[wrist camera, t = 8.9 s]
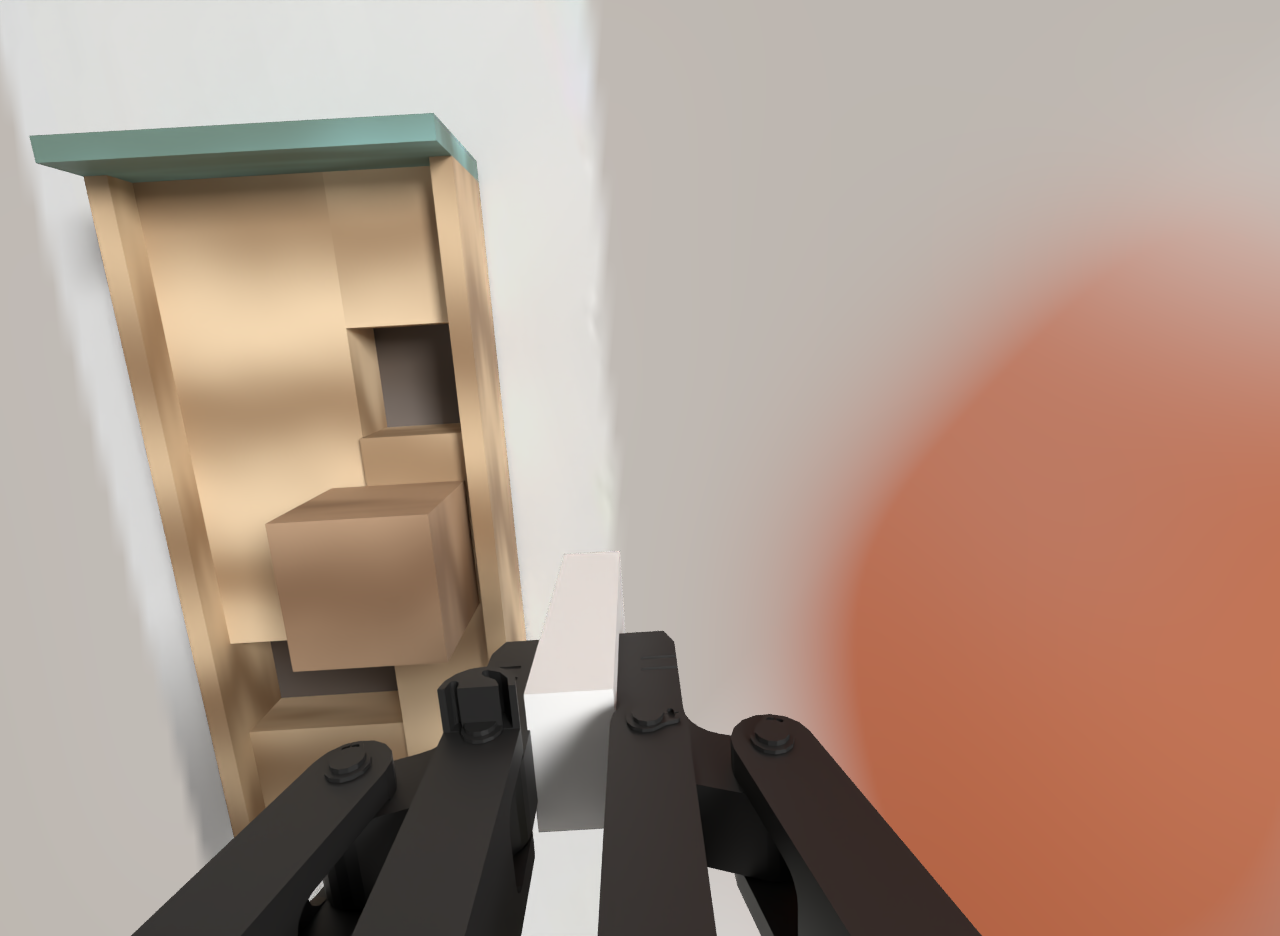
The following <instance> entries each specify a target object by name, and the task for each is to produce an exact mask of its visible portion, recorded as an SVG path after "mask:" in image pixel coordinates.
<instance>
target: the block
mask: <svg viewBox="0 0 1280 936" xmlns="http://www.w3.org/2000/svg"><path fill="white" fill-rule="evenodd" d="M265 527H266V532H267V538H268V543H269V548H270V553H271V558H272V564H273V569H274V574H275V579H276V585H277V590H278V595H279V600H280V606H281V611H282V616H283V621H284V627H285V632H286V637H287V642H288V648H289V653H290V658H291V663H292V669H293V672H299V671H315V670H332V669H348V668H364V667H381V666H397V665H414V664H430V663H447V662H448V661H449V659H450V657H451V655H452V654H453V652H454V650H455V648H456V646H457V644H458V642H459V641H460V639H461V637H462V635H463V633H464V631H465V630H466V628H467V626H468V624H469V622H470V620H471V618H472V617H473V615H474V613H475V611H476V609H477V607H478V605H479V596H478V588H477V579H476V571H475V563H474V554H473V546H472V537H471V529H470V520H469V512H468V503H467V495H466V487H465V480H463V481H446V482H429V483H412V484H395V485H378V486H361V487H344V488H331V489H329V490H328V491H326V492H324V493H322V494H320V495H318V496H316V497H314V498H313V499H311V500H309V501H307V502H305V503H303V504H301V505H299V506H298V507H296V508H294V509H292V510H290V511H288V512H286V513H285V514H283V515H281V516H279V517H277V518H275V519H273V520H271V521H270V522H268V523H266V524H265Z"/></svg>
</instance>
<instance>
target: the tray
mask: <svg viewBox="0 0 1280 936" xmlns="http://www.w3.org/2000/svg"><path fill="white" fill-rule="evenodd" d="M30 140H31V145H32V149H33V153H34V157H35V161H36V163H38V164H41V165H45V166H48V167H52V168H55V169H59V170H62V171H66V172H69V173H73V174H77V175H80V176H84V181H85V185H86V190H87V194H88V198H89V203H90V207H91V212H92V216H93V220H94V225H95V229H96V233H97V238H98V242H99V247H100V251H101V255H102V260H103V264H104V269H105V273H106V277H107V282H108V286H109V291H110V295H111V299H112V304H113V308H114V312H115V317H116V321H117V326H118V330H119V334H120V339H121V343H122V348H123V352H124V356H125V361H126V365H127V370H128V374H129V378H130V383H131V387H132V391H133V396H134V400H135V405H136V409H137V413H138V418H139V422H140V427H141V431H142V435H143V440H144V444H145V449H146V453H147V457H148V462H149V466H150V470H151V475H152V479H153V484H154V488H155V492H156V497H157V501H158V506H159V510H160V514H161V519H162V523H163V528H164V532H165V536H166V541H167V545H168V549H169V554H170V558H171V563H172V567H173V571H174V576H175V580H176V585H177V589H178V593H179V598H180V602H181V607H182V611H183V615H184V620H185V624H186V628H187V633H188V637H189V642H190V646H191V650H192V655H193V659H194V664H195V668H196V672H197V677H198V681H199V686H200V690H201V694H202V699H203V703H204V707H205V712H206V716H207V721H208V725H209V729H210V734H211V738H212V743H213V747H214V751H215V756H216V760H217V765H218V769H219V773H220V778H221V782H222V786H223V791H224V795H225V800H226V804H227V808H228V813H229V817H230V822H231V826H232V830H233V835H234V838H235V837H236V836H237V835H238V834H239V833H240V832H241V831H242V830H243V829H244V828H245V827H246V826H247V825H248V824H249V823H250V822H251V821H253V820H254V819H255V818H256V817H257V816H258V815H259V814H260V813H261V812H262V811H263V810H264V809H265V808H266V807H267V806H268V805H269V804H270V803H271V802H273V801H274V800H275V799H276V798H277V797H278V796H279V795H280V794H281V793H282V792H283V791H284V790H285V789H286V788H287V787H288V786H289V785H290V784H291V783H293V782H294V781H295V780H296V779H297V778H298V777H299V776H300V775H301V774H302V773H303V772H304V771H305V770H306V769H307V768H308V767H309V766H310V765H312V764H313V763H314V762H315V761H316V760H318V759H319V758H320V757H322V756H323V755H324V754H326V753H327V752H329V751H331V750H334V749H336V748H338V747H340V746H342V745H345V744H348V743H352V742H357V741H370V740H375V741H378V742H382V743H385V744H386V745H387V746H388V747H389V748H390V749H391V750H392V754H393V760H398V759H401V758H405V757H409V756H412V755H416V754H420V753H423V752H425V751H428V750H431V749H433V748H435V747H437V745H438V743H439V741H440V739H441V737H442V734H443V728H442V721H441V714H440V707H439V700H438V693H437V689H438V688H439V687H440V686H441V684H442V683H443V682H444V681H445V680H447V679H449V678H450V677H452V676H453V675H455V674H457V673H460V672H463V671H465V670H468V669H472V668H479V667H487V665H488V663H489V660H490V658H491V656H492V654H493V653H494V652H495V651H496V650H498V649H499V648H500V647H501V646H502V645H503V644H504V643H506V642H513V641H526V633H525V623H524V614H523V604H522V595H521V585H520V575H519V566H518V556H517V547H516V537H515V527H514V518H513V508H512V499H511V489H510V479H509V470H508V460H507V451H506V441H505V431H504V422H503V412H502V403H501V393H500V383H499V374H498V364H497V355H496V345H495V335H494V326H493V316H492V307H491V297H490V287H489V278H488V268H487V259H486V249H485V239H484V230H483V220H482V211H481V201H480V191H479V182H478V172H477V163H476V160H475V159H474V158H473V157H472V156H471V154H470V153H469V152H468V151H467V150H466V149H465V148H464V147H463V146H462V144H461V143H460V142H459V141H458V140H457V139H456V138H455V137H454V136H453V134H452V133H451V132H450V131H449V130H448V129H447V128H446V127H445V125H444V124H443V123H442V122H441V121H440V120H439V119H438V118H437V117H436V115H435V114H434V113H426V114H408V115H390V116H373V117H355V118H337V119H319V120H302V121H284V122H266V123H248V124H231V125H213V126H195V127H177V128H160V129H142V130H124V131H107V132H89V133H71V134H53V135H36V136H30ZM463 480H465V487H466V495H467V503H468V512H469V520H470V529H471V537H472V546H473V554H474V563H475V571H476V579H477V588H478V596H479V605H478V607H477V609H476V611H475V613H474V615H473V617H472V618H471V620H470V622H469V624H468V626H467V628H466V630H465V631H464V633H463V635H462V637H461V639H460V641H459V642H458V644H457V646H456V648H455V650H454V652H453V654H452V655H451V657H450V659H449V661H448V662H447V663H430V664H414V665H397V666H381V667H364V668H348V669H332V670H315V671H299V672H293V669H292V663H291V658H290V653H289V648H288V642H287V637H286V632H285V627H284V621H283V616H282V611H281V606H280V600H279V595H278V590H277V585H276V579H275V574H274V569H273V564H272V558H271V553H270V548H269V543H268V538H267V532H266V527H265V524H266V523H268V522H270V521H271V520H273V519H275V518H277V517H279V516H281V515H283V514H285V513H286V512H288V511H290V510H292V509H294V508H296V507H298V506H299V505H301V504H303V503H305V502H307V501H309V500H311V499H313V498H314V497H316V496H318V495H320V494H322V493H324V492H326V491H328V490H329V489H331V488H344V487H361V486H378V485H395V484H412V483H429V482H446V481H463Z"/></svg>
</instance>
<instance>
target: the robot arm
mask: <svg viewBox="0 0 1280 936" xmlns="http://www.w3.org/2000/svg"><path fill="white" fill-rule="evenodd" d="M437 693H438V700H439V707H440V714H441V721H442V728H443V734H442V737H441V739H440V741H439V743H438V745H437V747H435V748H433V749H431V750H428V751H425V752H423V753H420V754H416V755H412V756H409V757H405V758H401V759H398V760H393V754H392V750H391V749H390V748H389V747H388V746H387V745H386V744H385V743H382V742H378V741H375V740H370V741H357V742H352V743H348V744H345V745H342V746H340V747H338V748H336V749H334V750H331V751H329V752H327V753H326V754H324V755H323V756H322V757H320V758H319V759H318V760H316V761H315V762H314V763H313V764H312V765H310V766H309V767H308V768H307V769H306V770H305V771H304V772H303V773H302V774H301V775H300V776H299V777H298V778H297V779H296V780H295V781H294V782H293V783H291V784H290V785H289V786H288V787H287V788H286V789H285V790H284V791H283V792H282V793H281V794H280V795H279V796H278V797H277V798H276V799H275V800H274V801H273V802H271V803H270V804H269V805H268V806H267V807H266V808H265V809H264V810H263V811H262V812H261V813H260V814H259V815H258V816H257V817H256V818H255V819H254V820H253V821H251V822H250V823H249V824H248V825H247V826H246V827H245V828H244V829H243V830H242V831H241V832H240V833H239V834H238V835H237V836H236V837H235V838H234V839H233V840H231V841H230V842H229V843H228V844H227V845H226V846H225V847H224V848H223V849H222V850H221V851H220V852H219V853H218V854H217V855H216V856H215V857H214V858H212V859H211V860H210V861H209V862H208V863H207V864H206V865H205V866H204V867H203V868H202V869H201V870H200V871H199V872H198V873H197V874H196V875H195V876H194V877H193V878H191V879H190V880H189V881H188V882H187V883H186V884H185V885H184V886H183V887H182V888H181V889H180V890H179V891H178V892H177V893H176V894H175V895H174V896H173V897H171V898H170V899H169V900H168V901H167V902H166V903H165V904H164V905H163V906H162V907H161V908H160V909H159V910H158V911H157V912H156V913H155V914H154V915H152V916H151V917H150V918H149V920H147V921H146V922H145V923H144V924H143V925H142V926H141V927H140V928H139V929H138V930H137V931H136V932H135V933H134V934H132V935H131V936H521V933H522V927H523V921H524V916H525V910H526V904H527V899H528V893H529V887H530V882H531V876H532V870H533V865H534V859H535V851H534V840H533V831H532V830H533V824H534V819H535V814H536V811H537V820H538V829H539V832H551V831H568V830H585V829H602V828H604V834H603V851H602V869H601V887H600V904H599V922H598V936H717V934H716V927H715V921H714V913H713V905H712V898H711V891H710V884H709V876H708V869H707V867H710V868H715V869H719V870H723V871H727V872H731V873H735V877H736V881H737V886H738V888H739V890H740V892H741V894H742V896H743V898H744V900H745V903H746V904H747V907H748V908H749V911H750V913H751V915H752V917H753V919H754V921H755V923H756V926H757V928H758V930H759V932H760V934H761V936H982V935H981V934H980V933H979V932H978V931H977V929H976V928H975V927H974V926H973V925H972V923H971V922H970V921H969V920H968V919H967V918H966V916H965V915H964V914H963V913H962V912H961V910H960V909H959V908H958V907H957V906H956V904H955V903H954V902H953V901H952V900H951V898H950V897H949V896H948V895H947V894H946V893H945V891H944V890H943V889H942V888H941V887H940V885H939V884H938V883H937V882H936V881H935V880H934V878H933V877H932V876H931V875H930V873H929V872H928V871H927V870H926V869H925V867H924V866H923V865H922V864H921V863H920V862H919V860H918V859H917V858H916V857H915V856H914V854H913V853H912V852H911V851H910V850H909V848H908V847H907V846H906V845H905V844H904V842H903V841H902V840H901V839H900V838H899V837H898V835H897V834H896V833H895V832H894V831H893V829H892V828H891V827H890V826H889V825H888V824H887V822H886V821H885V820H884V819H883V817H882V816H881V815H880V814H879V813H878V812H877V810H876V809H875V808H874V807H873V806H872V805H871V803H870V802H869V801H868V800H867V799H866V797H865V796H864V795H863V794H862V792H861V791H860V790H859V789H858V788H857V787H856V786H855V784H854V783H853V782H852V781H851V779H850V778H849V777H848V776H847V775H846V773H845V772H844V771H843V770H842V769H841V767H840V766H839V765H838V764H837V763H836V762H835V760H834V759H833V758H832V757H831V756H830V754H829V753H828V752H827V751H826V750H825V749H824V747H823V746H822V745H821V744H820V743H819V741H818V740H817V739H816V738H815V737H814V736H813V734H812V733H811V732H810V731H809V730H808V729H807V728H805V727H804V726H803V725H802V724H801V723H800V722H797V721H795V720H793V719H790V718H788V717H785V716H778V715H772V714H768V715H755V716H752V717H750V718H747V719H744V720H742V721H741V722H740V723H739V724H738V725H736V726H735V727H734V729H733V732H732V735H731V736H730V735H724V734H718V733H714V732H710V731H707V730H705V729H703V728H700V727H698V726H697V725H695V724H694V723H692V722H691V721H690V720H689V719H688V717H687V716H686V715H685V712H684V709H683V704H682V697H681V689H680V682H679V674H678V668H677V659H676V652H675V645H674V641H673V640H672V639H671V638H670V637H669V636H668V635H667V634H666V633H665V632H664V631H653V632H636V633H625V620H624V606H623V591H622V576H621V561H620V551H609V552H592V553H575V554H564V556H563V559H562V563H561V566H560V570H559V573H558V577H557V580H556V584H555V587H554V591H553V594H552V598H551V601H550V605H549V608H548V612H547V615H546V619H545V622H544V625H543V629H542V632H541V636H540V639H539V640H530V641H513V642H506V643H504V644H503V645H502V646H501V647H500V648H499V649H498V650H496V651H495V652H494V653H493V654H492V656H491V658H490V660H489V663H488V665H487V667H479V668H472V669H468V670H465V671H463V672H460V673H457V674H455V675H453V676H452V677H450V678H449V679H447V680H445V681H444V682H443V683H442V684H441V686H440V687H439V688H438V689H437ZM322 880H323V883H324V887H323V888H322V889H321V890H320V892H319V893H318V894H317V895H316V896H315V897H314V898H313V899H312V900H311V901H310V902H309V900H308V899H309V897H310V895H311V894H312V892H313V891H314V890H315V889H316V887H317V886H318V885H319V884H320V882H321V881H322Z"/></svg>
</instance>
